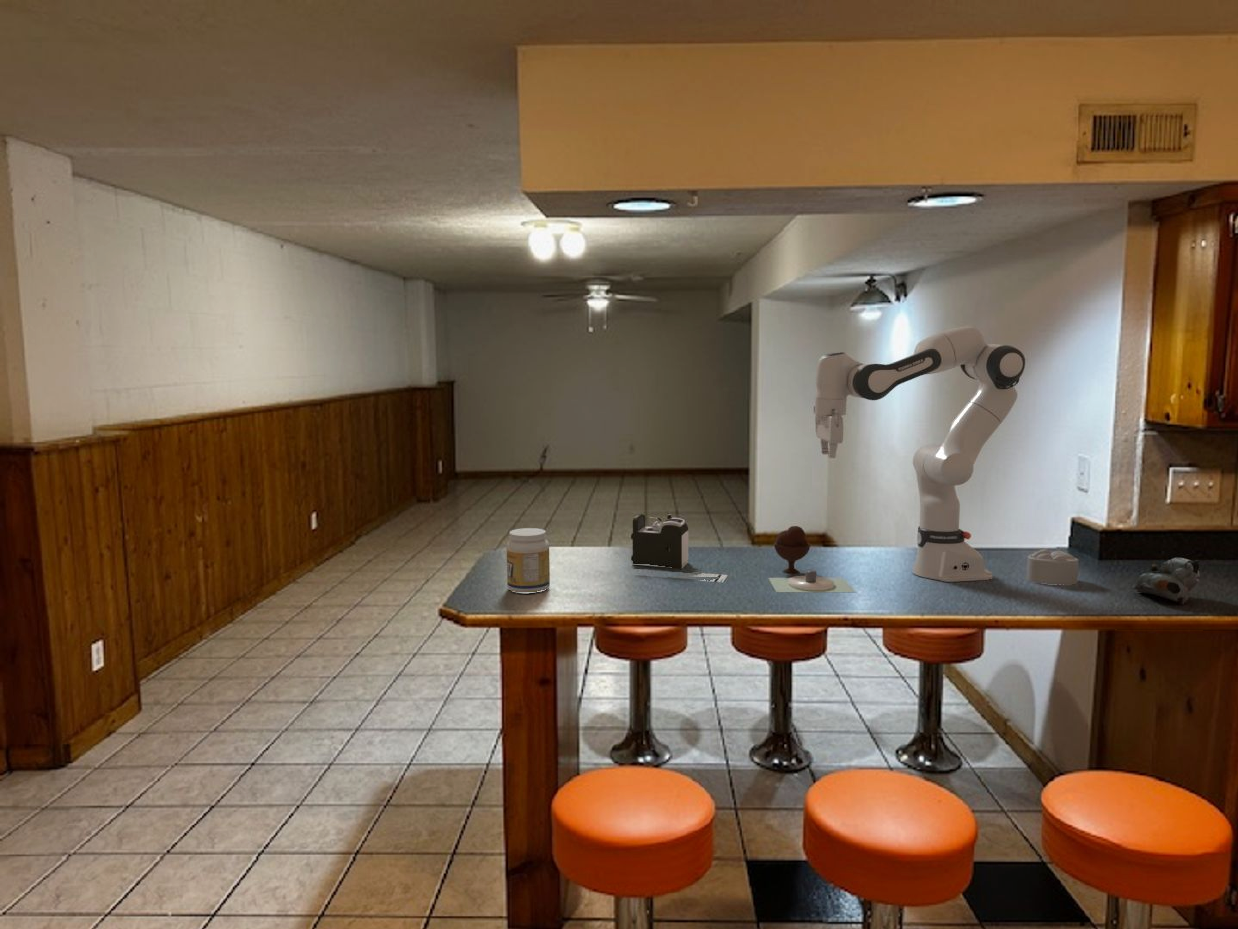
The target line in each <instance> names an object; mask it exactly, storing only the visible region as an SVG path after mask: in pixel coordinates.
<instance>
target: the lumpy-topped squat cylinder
mask: <svg viewBox="0 0 1238 929" xmlns="http://www.w3.org/2000/svg"><path fill="white" fill-rule="evenodd" d="M1079 561H1080V560H1079V558H1076V557H1075V556H1074V555H1072V554H1069V553H1067V552H1064V551H1062V550H1055V551H1053V552H1051V551H1050V550H1049V549H1047V548H1043V549H1040V550H1038V551H1034V552H1033V553H1031V554H1029V555H1028V556H1027V561H1026V562H1027V565H1026V567H1027V568H1026V579H1027V580H1029V581H1031V582H1030V583H1032V582H1036V583H1047V584H1057V585H1059V584H1061V585H1063V584H1064V585H1065V586H1069V585H1068V584H1076V583H1077V584H1078V579H1079V577H1078V576H1079ZM1027 580H1026V581H1027ZM1029 581H1028V582H1029ZM1036 583H1035V584H1036ZM1077 584H1076V585H1077Z"/></svg>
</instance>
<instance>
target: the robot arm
mask: <svg viewBox="0 0 1238 929" xmlns="http://www.w3.org/2000/svg"><path fill="white" fill-rule="evenodd" d="M957 367H960V369H961V371H962V372H963V373H964V375H966V376H967V377H968V378H970V379H972V380H978V381H979V384H978V388H977V391H976V392H975V394H974V395H973V396H972V397H971V398H970V399H969V401H968V402H966V404H965V405H964V407H963V408H962V409H961V410H960V412H959V413H958V414H956V416H955V418H954V419H953V420H952V421H951V423H950V429H949V431H948V433H947V435H946V437H945V440H944V441H943V443H942V444H941V445H940V444H935V443H933V444H932V443H931V444H928V445H924V446H922V447H919V449H917V450H916V451H915V452H914V455H913V457H912V464H913V467H914V470H915V474H916V483H917V488H918V492H919V493H918V494H919V505H920V506H919V526H918V527H917V533H916V542H917V543H916V544H917V551H916V555H915V557H916V558H915V561H914V564H913V567H912V570H911V572H912V573H913V575H916V576H920V577H923V578H926V579H932V580H936V581H937V580H938V581H941V582H948V583H952V582H954V583H955V582H970V581H972V582H973V581H989V579H991V580H993V579H994V575H993V573H992V572H991V571H989V570H988V569H986V566H985V560H984V558H983V555H981V554H980V553H979V552H978V551H977V550H976V549H975V548H974V547H972V546H971V545H970V544H968V543H967V542H965V540H971V538H972V534H971V533H970V532H968V531H964V530H963V529H960V511H961V504H960V500H959V499H958V496H957V492H956V486H961V485H965V483H966V482H969V480H970V479H971V478H972V476H973V473H974V464H975V462H976V460H977V458H978V457H979V454H980V452H981V451H982V449H983V447H984V445H985V444H986V443H987V442H988V440H989V439H990V437H991V436H992V435H993V434H994V433H995V432H996V430H997V429H998V428H999V426H1000V425H1001V424H1002V423H1003V422H1004V420H1005V419H1007V416H1008V415H1009V413H1010V411H1012V408H1013V407H1014V405H1015V403H1016V401H1017V399H1018V393H1017V389H1016V388H1015V386H1017V384H1018V383H1019V382H1020V378H1021V377H1022V375H1023V374H1024V370H1025V367H1026V358H1025V355H1024V353H1023V352H1022V351H1021V350H1020V349H1018V348H1016V347H1015V346H1011V345H1007V344H1006V345H1004V344H998V343H986V342H985V340H984V336H983V334H982V332H981V331H980V329H978V328H976V327H975V326H972V325H965V326H960V327H955V328H950V329H947V330H944V331H940V332H938V333H934V334H933V335H930V336H928V337H926V338H924V339H922V340H921V341H919V342H918V343H917V344H916V346H915V348H914V351H913V354H911V355H909V356H906V357H904V358H900V359H898V360H896V361H894V362H892V363H887V364H883V363H882V364H881V363H869V364H865V363H862V362H860V361H857V360H856V359H853V358H852V357H851V356H849V355H848V354H847V353H846V352H841V351H839V352H832V353H831V352H830V353H827V354H824V355H822V356H821V357H820V358H819V359H818V362H817V368H816V377H815V385H816V394H815V397H814V399H815V400H814V406H813V413H814V415H815V416H814V418H815V435H816V437H817V438H818V439H820V447H821V448H820V450H821V454H822V455H828V458H829V459H835V458H836V455H837V453H836V452H837V450H838V444H843V441H844V418H843V416H846V415H847V400H848V399H847V398H848V396H852V397H854V398H860V399H865V400H868V401H879V400H881V399H883V398H885V397H886V396H887V395H888V394H889V393H891V392H892V390H894V389H895V388H896V387H898V386H899V385H901V384H902V385H903V384H904V383H906V382H909V381H911V380H913V379H916V378H918V377H921V376H925V375H933V374H937V373H943V372H945V371H949V370H952V369H954V368H957ZM992 578H993V579H992Z"/></svg>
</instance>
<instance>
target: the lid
mask: <svg viewBox="0 0 1238 929" xmlns="http://www.w3.org/2000/svg"><path fill="white" fill-rule="evenodd" d="M788 578H789V579H788V585H789V586H790V587H792V588H795V589H799V590H805V591H825V590H830V589H832V588H834V581H832V580H830V579H828V578H829V577H823V576H819V575H818V576H817V570H814V569H806V570H805V575H795V576H792V577H788Z"/></svg>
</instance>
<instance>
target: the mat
mask: <svg viewBox="0 0 1238 929" xmlns="http://www.w3.org/2000/svg"><path fill="white" fill-rule="evenodd" d="M789 578H790V577H768V580H769V582H770V583H771V586H772V587H773V590H774V591H775V592H776V593H842V594H843V593H848V594H850V593H857V592H856V590H855V589H854V588H853V587H852V586H851V585H850V584H849V583H848V582H847V581H846V579H844V577H827V578H828V579H830V580H832V581H834V588H832V589H830V590H825V591H805V590H799V589H795V588H792V587H790V586H789V585H788V579H789Z"/></svg>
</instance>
